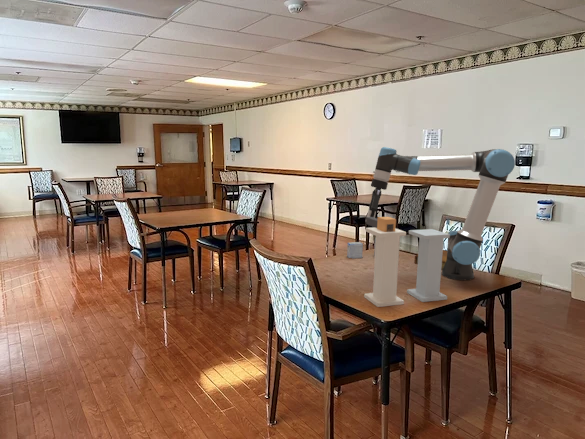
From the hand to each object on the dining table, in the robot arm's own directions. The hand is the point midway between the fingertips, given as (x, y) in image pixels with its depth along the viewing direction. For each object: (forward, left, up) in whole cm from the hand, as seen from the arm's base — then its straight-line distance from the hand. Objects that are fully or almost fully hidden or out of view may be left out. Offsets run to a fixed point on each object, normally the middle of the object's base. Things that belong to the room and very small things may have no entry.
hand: (368, 223), depth 207 cm
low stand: (-14, +28, -27) cm, 42 cm away
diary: (-53, -14, -28) cm, 61 cm away
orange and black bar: (+7, +23, +3) cm, 24 cm away
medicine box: (-12, -38, -28) cm, 48 cm away
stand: (+7, +28, -27) cm, 40 cm away
